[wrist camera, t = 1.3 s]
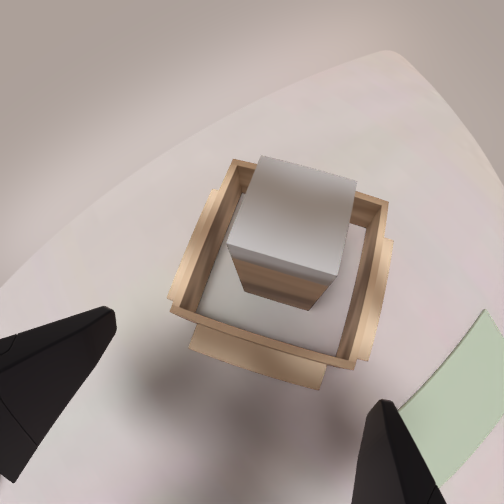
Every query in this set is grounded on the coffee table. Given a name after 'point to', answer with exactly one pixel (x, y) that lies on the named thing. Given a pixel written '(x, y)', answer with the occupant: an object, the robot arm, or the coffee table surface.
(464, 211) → the coffee table surface
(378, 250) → the wooden square frame
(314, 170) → the gray block
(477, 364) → the green mat
